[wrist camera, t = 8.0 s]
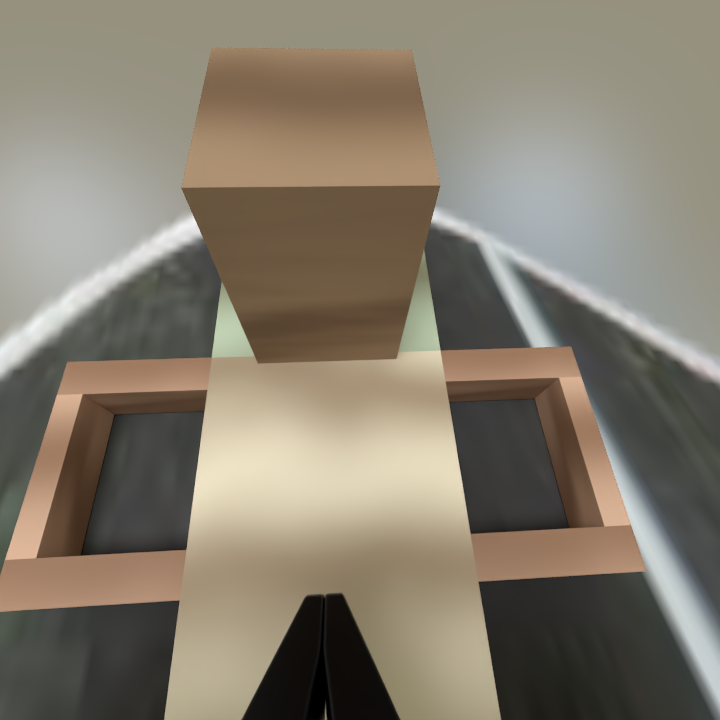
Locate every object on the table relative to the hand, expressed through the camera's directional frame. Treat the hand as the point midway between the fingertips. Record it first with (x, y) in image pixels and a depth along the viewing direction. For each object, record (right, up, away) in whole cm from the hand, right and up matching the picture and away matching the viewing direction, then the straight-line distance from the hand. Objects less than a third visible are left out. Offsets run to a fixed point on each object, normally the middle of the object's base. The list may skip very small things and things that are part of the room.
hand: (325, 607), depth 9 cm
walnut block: (-1, +8, +10) cm, 13 cm away
